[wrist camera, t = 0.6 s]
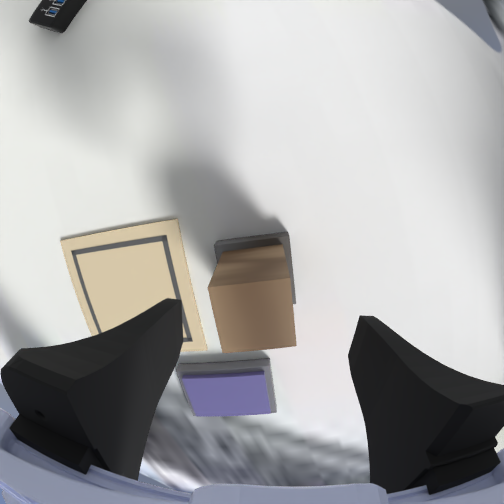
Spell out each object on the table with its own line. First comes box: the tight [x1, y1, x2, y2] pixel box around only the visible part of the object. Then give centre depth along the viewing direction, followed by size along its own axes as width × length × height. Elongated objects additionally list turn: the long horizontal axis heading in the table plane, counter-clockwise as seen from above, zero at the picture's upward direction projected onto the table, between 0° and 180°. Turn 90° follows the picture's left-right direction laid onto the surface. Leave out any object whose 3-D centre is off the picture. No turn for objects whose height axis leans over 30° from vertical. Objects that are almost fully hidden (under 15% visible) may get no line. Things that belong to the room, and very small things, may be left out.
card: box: [60, 219, 207, 352], centre depth 22 cm, size 11×11×1 cm
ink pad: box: [176, 358, 277, 416], centre depth 24 cm, size 8×6×2 cm
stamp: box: [208, 232, 296, 353], centre depth 18 cm, size 5×5×7 cm
